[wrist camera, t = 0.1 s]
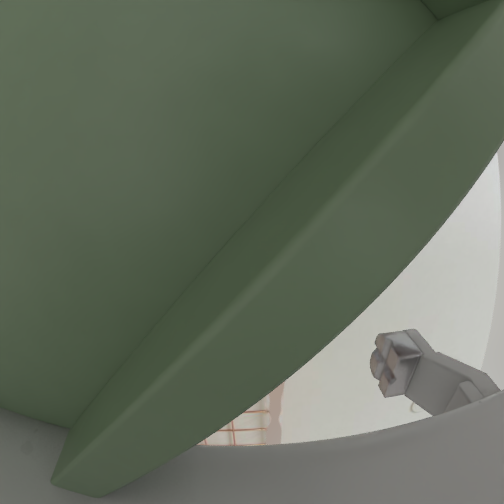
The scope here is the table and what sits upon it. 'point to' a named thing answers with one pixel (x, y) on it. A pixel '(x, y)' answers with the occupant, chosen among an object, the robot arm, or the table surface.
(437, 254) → the table surface
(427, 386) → the robot arm
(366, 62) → the upper tray
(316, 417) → the table surface
